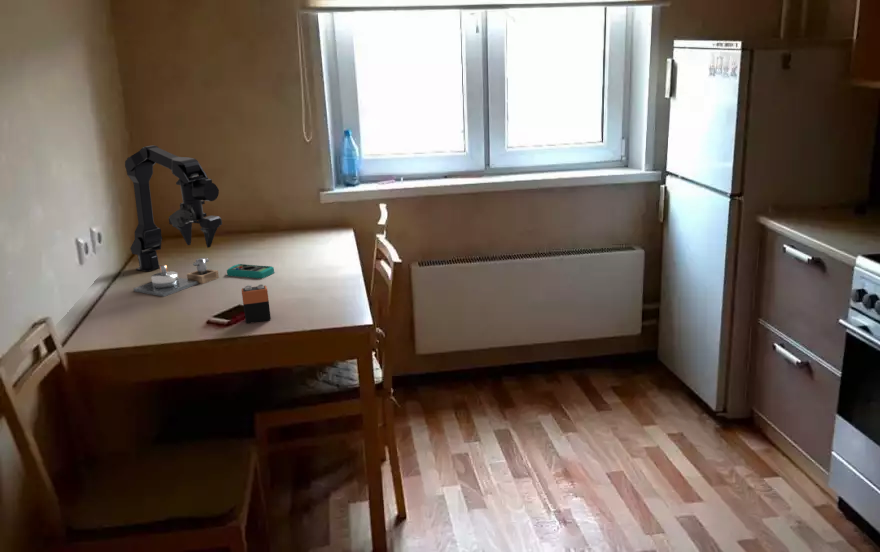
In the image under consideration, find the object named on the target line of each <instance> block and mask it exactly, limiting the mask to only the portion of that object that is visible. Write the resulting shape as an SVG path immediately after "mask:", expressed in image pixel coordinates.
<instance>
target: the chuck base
mask: <svg viewBox="0 0 880 552" xmlns="http://www.w3.org/2000/svg"><path fill="white" fill-rule="evenodd" d="M178 279H179V283H178V284H177V285H174V286H171V287H165V288H156V287H153V284H152V281H151V282H147V283H145V284H141V285H139V286H136V287H133V291H134V292H136V293H142V294H148V295H152V296H153V295H154V296H158V297H167V296H170V295H172V294H175V293H177V292H180V291H182V290H185V289H188V288H191V287H193V286H197V285H199V283H198V281H196V280H190V279H187V278H182V277H178Z"/></svg>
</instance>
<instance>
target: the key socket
mask: <svg viewBox="0 0 880 552" xmlns="http://www.w3.org/2000/svg"><path fill="white" fill-rule="evenodd" d="M219 278H220V277H219V270H215V269H209V268H207V274H204V275H198V272H197V270H194V271H192V272H189V273H186V279H190V280H196V281H198V284H199V285H200V284H201V285H203V284H207V283H209V282H211V281H214V280H217V279H219Z"/></svg>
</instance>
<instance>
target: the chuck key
mask: <svg viewBox="0 0 880 552" xmlns="http://www.w3.org/2000/svg"><path fill="white" fill-rule="evenodd" d="M207 262H209V258H205V257H200V258H195V262H193V264H192V265H193V267H196V271H197V272H198V275H204V274H207V269H208V268H207Z"/></svg>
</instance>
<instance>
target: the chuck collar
mask: <svg viewBox="0 0 880 552" xmlns="http://www.w3.org/2000/svg"><path fill="white" fill-rule="evenodd" d="M160 265H161V266H160V268H159V269H160V272H157V273H154V274H153V275H151V282H152V284H153V287H156V288H165V287H171V286H174V285H177V284H178V283H179V279H178V278H179V274H178V272H177V271H172V270H170V271H169V270H168V266H167V264H160Z"/></svg>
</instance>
